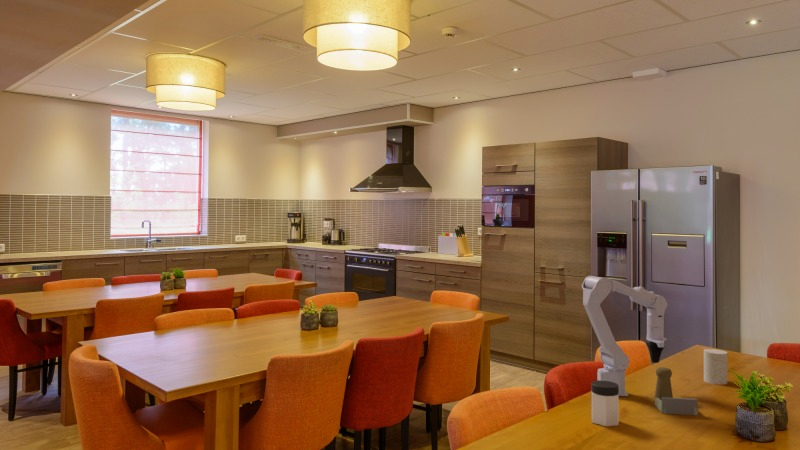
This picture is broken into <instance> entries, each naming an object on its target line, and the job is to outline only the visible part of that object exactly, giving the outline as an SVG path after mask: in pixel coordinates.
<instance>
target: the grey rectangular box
mask: <svg viewBox="0 0 800 450" xmlns="http://www.w3.org/2000/svg"><path fill="white" fill-rule="evenodd" d="M698 405H699V400H698V398H686V397H673V398H668V397H662V401H661V400H660V399H659V398H655V397H654V406H655V407H656V408H657V409H658V410H659V411H660V412H661V413H662V414H666V415H685V416H686V415H688V416H689V415H690V416H698V415H699V414H698V413H699V412H698V411H699V410H698V409H699V406H698Z"/></svg>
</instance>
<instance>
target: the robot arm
mask: <svg viewBox="0 0 800 450" xmlns="http://www.w3.org/2000/svg"><path fill="white" fill-rule="evenodd" d="M581 288H582V305H583V308H584V309H585V312H586V314H587V317H588V320H589V321H590V325H591V326H592V329H593V331H594V333H595V335H596V338H597V340H598V342H599V344H600V347H599V348H598V351H599V355H600V356H599V358H600V361H601V363H602V364H603V367H602V368H597V373H596V375H597V377H596V379H597V380H596V381H610V382H614V383H616V384H618V386H619V393H618V395H619V397H629V394H628V393H627V392H626V371H627V369H628V367H629V365H630V358H629V356H628V355H627V354H626V353H624V351H623V348H622V347H621V346H620V345H619V344H618V343H617V342H616V339H615V337H614V335H613V333H612V331H611V328H610V326H609V324H608V321H607V319H606V316H605V314H604V311H603V309H602V307H601V304H602V302H603V301H604V300H605V299H607V296H608V295H609V294H611V293H614V292H617V293H620V294H622V295H625V296H628V297H629V300H630V301H631V302H633V303H635V304H638V305H641V306H643V307H644V308H646V336H645V337H646V338H645V339H646V340H647V341H649V342H645V344H646V347H647V348H648V349H647V350H648V351H649V355H650V361H651V363H654V364H659V362H660V359H661V355H662V353H663V350H664V349H665V341H668V338H667V337H664V336H665V335H664V334H665V333H664V331H665V330H664V329H665V328H664V327H665V325H664V324H665V323H664V319H665V317H664V315H665V313H666V309H667V307H668V302H667V301H666V298H665V297H664V296H663V295H661V294H655V291H652V290H651V291H648V290H647V289H645V287H644V286H641V285H640V286H635V287H630V286H628V285H626V284H624V283H621V282H619V281H617V280H614V279H610V278H608V277H607V278H606V277H600V276H594V275H588V276H586V277H585V278H584V280H583V282H582V284H581Z"/></svg>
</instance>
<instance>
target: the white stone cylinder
mask: <svg viewBox="0 0 800 450" xmlns="http://www.w3.org/2000/svg"><path fill="white" fill-rule="evenodd" d="M703 381H704V382H705V383H707V384H711V385H718V386H721V385H723V386H724V385H727V384H728V351H725V350H722V349H715V348H705V349H703Z"/></svg>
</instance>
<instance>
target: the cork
mask: <svg viewBox="0 0 800 450" xmlns="http://www.w3.org/2000/svg"><path fill="white" fill-rule="evenodd" d="M655 375H656V376H657V378H656V379H657V380H656V384H655V385H656V386H655V392H654V399H655V398H659V399H660V400H661V401H662V397H668V398H674V396H673V389H672V383H671V378H672V375H673V372H672V370H671V369H670V368H668V367H665V366H661V367H657V368H656V369H655Z"/></svg>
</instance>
